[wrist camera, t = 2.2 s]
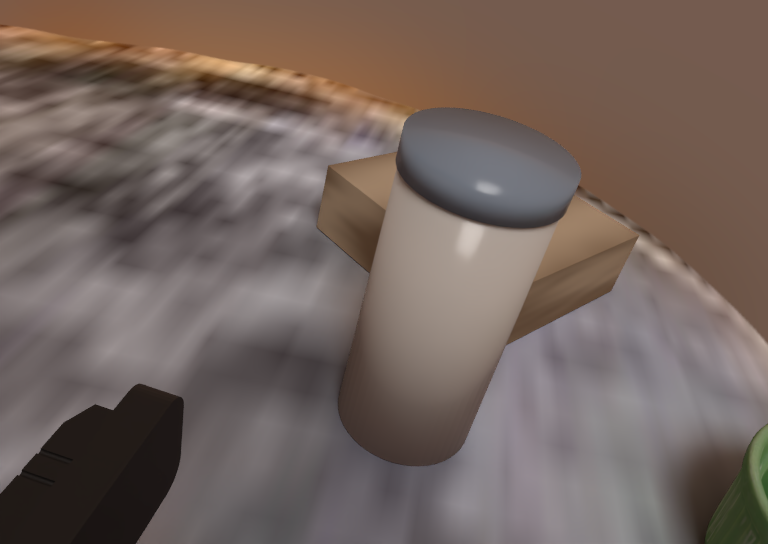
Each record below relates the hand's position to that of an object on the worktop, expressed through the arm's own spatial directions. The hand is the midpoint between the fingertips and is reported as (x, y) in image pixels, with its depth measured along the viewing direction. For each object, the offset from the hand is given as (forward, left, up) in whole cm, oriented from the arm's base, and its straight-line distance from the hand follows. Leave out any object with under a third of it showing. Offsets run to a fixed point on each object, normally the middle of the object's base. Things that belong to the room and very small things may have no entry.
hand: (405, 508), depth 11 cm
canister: (-7, +9, -9) cm, 15 cm away
